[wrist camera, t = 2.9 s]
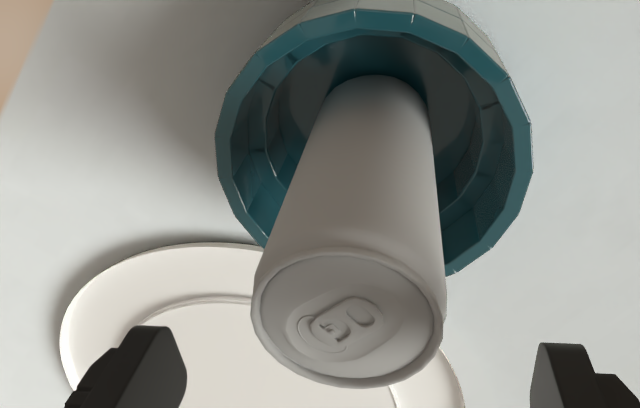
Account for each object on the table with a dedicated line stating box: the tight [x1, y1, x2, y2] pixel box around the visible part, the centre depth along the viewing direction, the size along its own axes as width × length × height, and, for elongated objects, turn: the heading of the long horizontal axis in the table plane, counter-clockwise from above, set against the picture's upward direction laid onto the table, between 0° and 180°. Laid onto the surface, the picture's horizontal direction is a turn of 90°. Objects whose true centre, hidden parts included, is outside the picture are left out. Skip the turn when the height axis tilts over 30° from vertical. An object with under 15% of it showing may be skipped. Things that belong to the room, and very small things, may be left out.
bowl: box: [215, 0, 534, 277], centre depth 19 cm, size 11×11×5 cm
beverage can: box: [250, 75, 447, 389], centre depth 16 cm, size 5×5×12 cm
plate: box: [60, 242, 465, 408], centre depth 34 cm, size 28×28×1 cm
